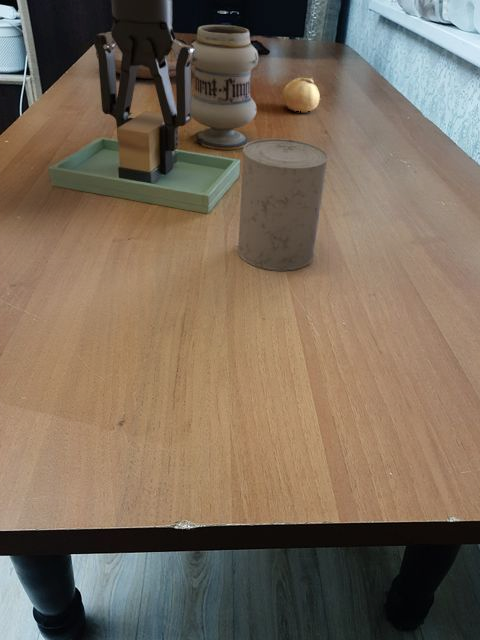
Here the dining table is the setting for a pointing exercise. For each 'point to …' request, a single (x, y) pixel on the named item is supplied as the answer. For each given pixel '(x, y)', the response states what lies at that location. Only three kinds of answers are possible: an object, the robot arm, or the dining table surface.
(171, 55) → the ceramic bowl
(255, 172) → the grey cylinder
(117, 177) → the tray
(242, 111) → the apothecary jar
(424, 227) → the dining table surface
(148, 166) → the eraser
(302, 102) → the onion
